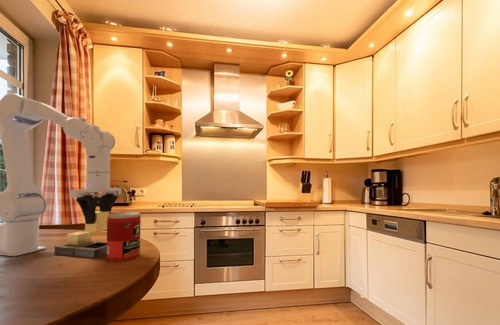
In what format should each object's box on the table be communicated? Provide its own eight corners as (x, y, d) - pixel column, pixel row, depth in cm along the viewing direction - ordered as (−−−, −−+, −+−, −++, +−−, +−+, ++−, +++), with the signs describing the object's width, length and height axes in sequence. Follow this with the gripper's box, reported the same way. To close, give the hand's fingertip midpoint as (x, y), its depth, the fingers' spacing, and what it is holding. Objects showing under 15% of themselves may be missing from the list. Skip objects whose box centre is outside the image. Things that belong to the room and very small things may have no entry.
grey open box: (54, 254, 70) (55, 235, 70) (81, 246, 77) (82, 229, 78) (93, 258, 66) (94, 238, 66) (118, 249, 73) (119, 232, 73)
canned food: (127, 262, 62) (128, 216, 63) (98, 260, 63) (99, 215, 64) (146, 253, 69) (146, 212, 70) (120, 252, 71) (120, 211, 72)
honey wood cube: (84, 231, 70) (85, 212, 70) (97, 228, 73) (98, 210, 74) (96, 232, 68) (96, 213, 69) (108, 229, 72) (109, 211, 73)
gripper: (85, 172, 64) (83, 227, 63) (129, 173, 78) (128, 218, 77) (64, 172, 66) (62, 226, 65) (111, 173, 80) (110, 218, 79)
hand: (97, 222), depth 71 cm, fingers closed on honey wood cube, 4 cm apart
